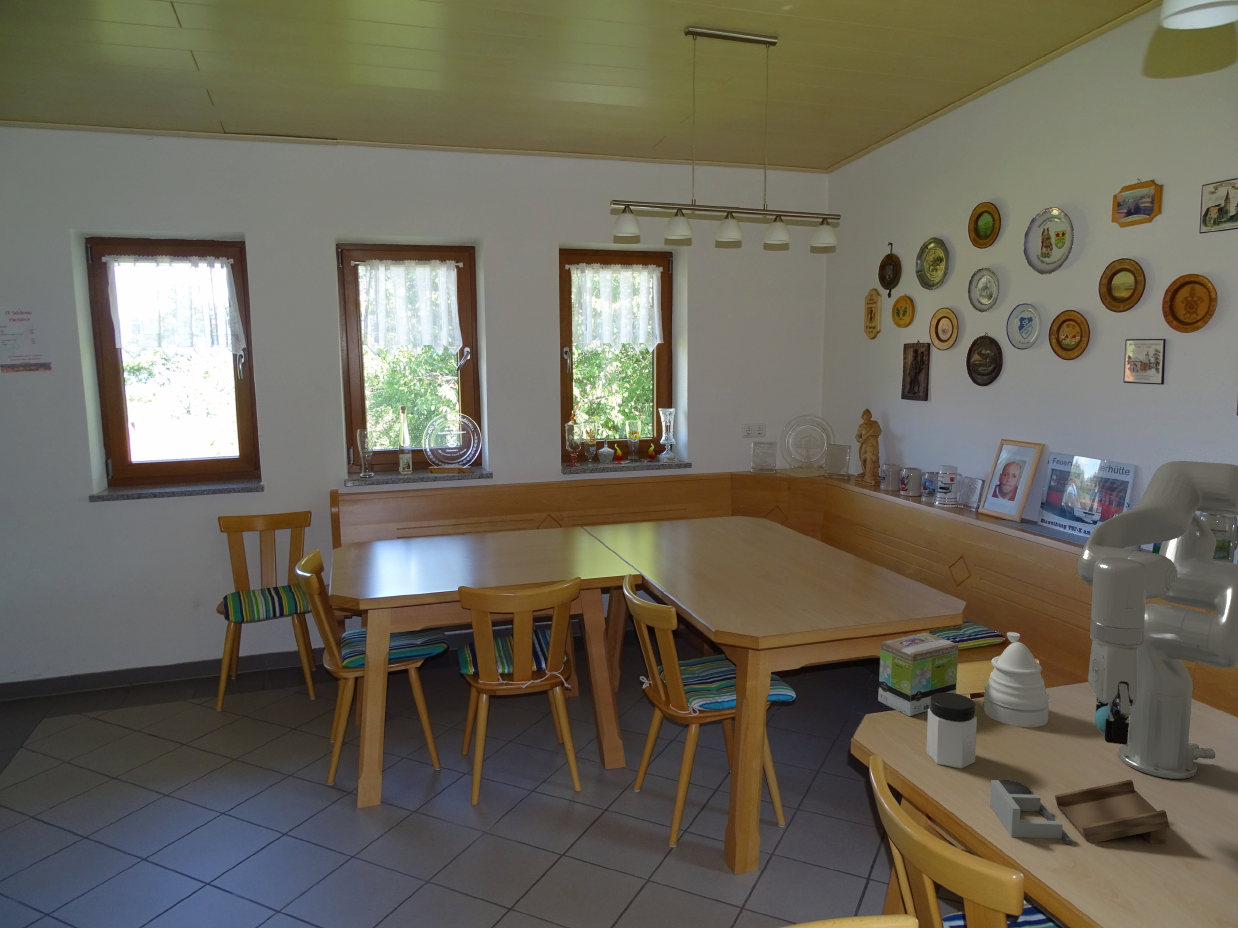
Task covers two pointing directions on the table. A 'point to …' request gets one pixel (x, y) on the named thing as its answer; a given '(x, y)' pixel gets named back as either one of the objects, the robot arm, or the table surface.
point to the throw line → (1050, 818)
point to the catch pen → (1009, 814)
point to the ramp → (1113, 813)
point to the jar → (951, 730)
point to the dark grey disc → (1015, 787)
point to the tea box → (916, 671)
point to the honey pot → (1016, 688)
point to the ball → (1102, 717)
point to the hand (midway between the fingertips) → (1110, 733)
